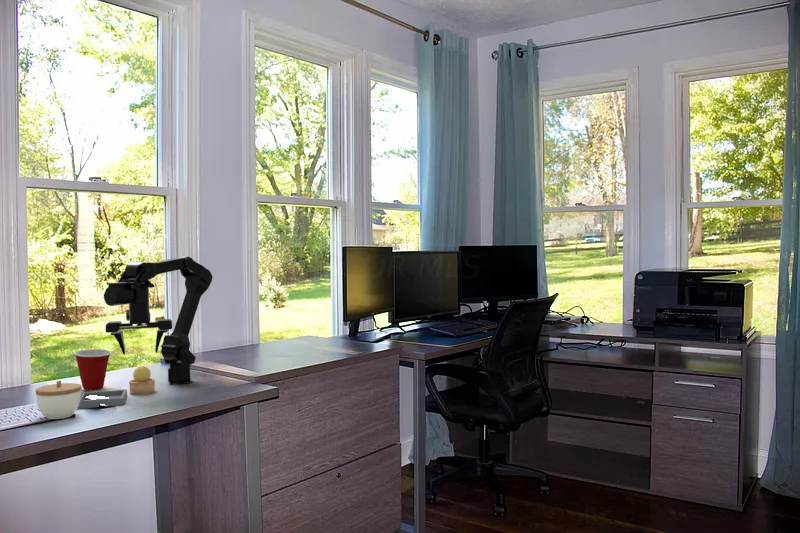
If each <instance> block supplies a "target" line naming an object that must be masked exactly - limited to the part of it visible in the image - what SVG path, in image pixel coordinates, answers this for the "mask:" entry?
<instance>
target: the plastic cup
mask: <svg viewBox="0 0 800 533" xmlns="http://www.w3.org/2000/svg"><path fill="white" fill-rule="evenodd" d="M111 354H112V351H111V350H108V349H102V348H100V349H99V348H97V349H96V348H93V349H92V348H91V349H89V348H88V349H80V350H76V351H74V352H73V355H74V356H75V359H76V363H77V367H78V372H79V377H80V381H81V388H83V390H84V391H97V390H98V391H99V390H102V389H103V388H104V386H105V381H106V375H107V368H108V362H109V359H110V356H111Z"/></svg>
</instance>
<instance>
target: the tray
mask: <svg viewBox="0 0 800 533" xmlns="http://www.w3.org/2000/svg"><path fill="white" fill-rule="evenodd" d="M89 395H97V396H105V397H109V399H96V400H85V397H86V396H89ZM127 398H128V389H114V390H111V389H110V390H98V391H97V390H96V391H86V392H81V401H80V404H79V407H78V408H77V410H78V409H79V410H80V409H90V408H100V407H99V405H100V404H105V405H108V406H107V407H115V406H116V407H117V406H124V405H125V403H126V400H127Z"/></svg>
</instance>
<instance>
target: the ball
mask: <svg viewBox="0 0 800 533" xmlns="http://www.w3.org/2000/svg"><path fill="white" fill-rule="evenodd" d="M132 373H133V374H132V375H133V376H132V377H133V380H134V379H135V380H136V381H137V382H146V381H147V380H148V379H149V378H151V370H150V368H149V367H147V366H145V365H140V366H138V367H136V368H135V369H134V371H133V372H132Z"/></svg>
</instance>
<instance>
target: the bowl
mask: <svg viewBox="0 0 800 533" xmlns="http://www.w3.org/2000/svg"><path fill="white" fill-rule="evenodd" d="M155 380H156V379H155V378H151V377H150V378H149V379H148V380H147V381H146V382H137V381H136V380H135V379H134V378H133V379H130V380H129V382H128V385H129V395H133V396H134V395H136V396H138V395H142V396H143V395H149V394H152V393H154V392H156V390H155V389H156V385H155V384H156V383H155Z"/></svg>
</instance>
